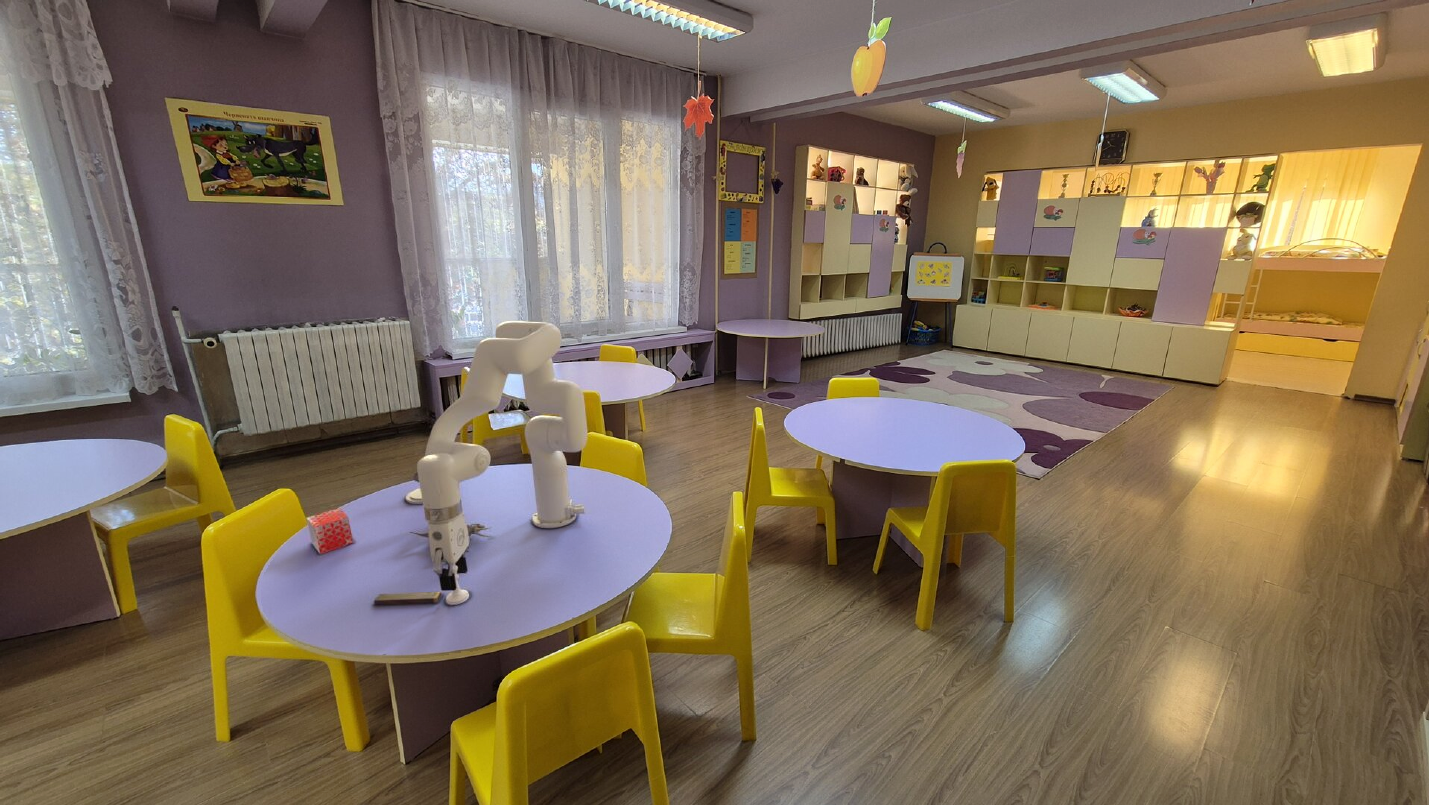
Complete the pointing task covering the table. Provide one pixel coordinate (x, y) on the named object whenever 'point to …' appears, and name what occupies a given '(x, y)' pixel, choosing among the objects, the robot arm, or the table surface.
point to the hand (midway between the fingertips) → (454, 580)
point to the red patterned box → (330, 530)
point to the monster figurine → (415, 494)
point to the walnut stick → (408, 598)
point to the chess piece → (456, 591)
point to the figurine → (471, 530)
